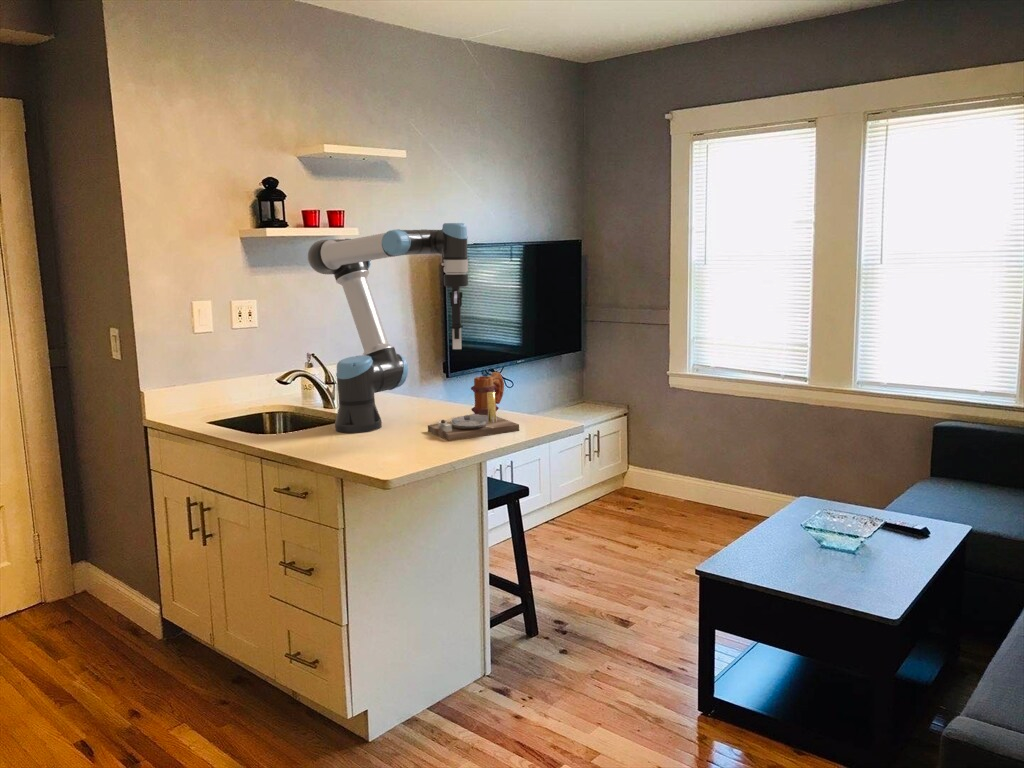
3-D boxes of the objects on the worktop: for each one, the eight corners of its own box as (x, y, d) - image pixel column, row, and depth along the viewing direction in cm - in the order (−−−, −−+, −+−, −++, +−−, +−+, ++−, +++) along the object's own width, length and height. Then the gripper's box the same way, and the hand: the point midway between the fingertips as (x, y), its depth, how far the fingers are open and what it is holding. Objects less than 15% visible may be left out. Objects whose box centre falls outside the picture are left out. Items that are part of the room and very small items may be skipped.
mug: (485, 422, 275) (483, 377, 273) (467, 420, 280) (465, 376, 277) (512, 414, 286) (510, 371, 284) (494, 412, 291) (492, 370, 289)
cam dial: (444, 427, 258) (442, 392, 257) (465, 420, 267) (464, 386, 266) (485, 431, 250) (483, 395, 248) (505, 424, 258) (504, 389, 257)
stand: (428, 431, 264) (427, 416, 264) (495, 421, 275) (494, 406, 274) (449, 441, 249) (448, 425, 248) (519, 430, 260) (519, 415, 259)
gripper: (444, 272, 263) (446, 346, 267) (442, 274, 250) (444, 351, 255) (468, 272, 263) (469, 345, 268) (467, 274, 250) (468, 351, 255)
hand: (457, 348), depth 261 cm, fingers closed
